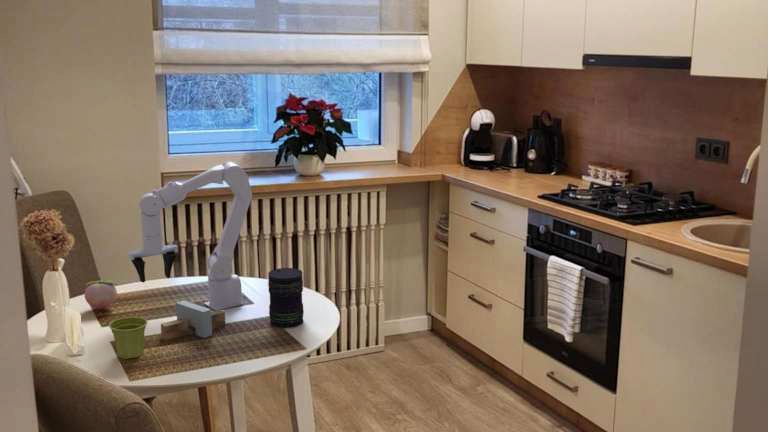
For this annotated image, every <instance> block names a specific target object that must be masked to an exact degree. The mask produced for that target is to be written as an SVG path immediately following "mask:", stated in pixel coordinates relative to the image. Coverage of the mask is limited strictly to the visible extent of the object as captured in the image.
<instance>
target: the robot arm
mask: <svg viewBox="0 0 768 432" xmlns="http://www.w3.org/2000/svg"><path fill="white" fill-rule="evenodd" d="M224 182H225V183H226V184H227V185H228V187H229V188H230V189H231V191H232V194H233V195H234V197H233V199H232V203H231V206H230V209H229V212H228V215H227V216H226V217H227V218H226V220H225V223H224V226H223V228H222V232H221V234H220V237H219V241H218V242H217V243H218V244H217V245H216V246H215V247H214V250H213V251H212V253H211V254H210V255H209V257H208V258H207V261H206V263H207V265H206V266H207V267H208V269H209V270H210V273H209V274H208V276H207V282H208V283H207V284H208V286H207V287H208V299H209V300H208V301H206V302H203V305H205V306H207V307H208V308H209V309H211V310H214V311H217V310H225V309H229V308H234V307H236V306H237V307H238V306H241V305H243V304H244V302H243V296H242V295H243V294H242V293H243V292H242V281H241V278H240V277H239V275H238V274H233V265H232V264H233V260H234V250H235V248H236V245H237V242H238V239H239V236H240V234H241V229H242V228H243V225H244V222H245V219H246V216H247V213H248V209H249V207H250V204H251V202H252V198H253V192H252V189H251V188H252V187H251V183H250V179H249V176H248V174H247V173H246V171H245V170H244V169H243V168H242V167H241V166H240V165H238V163H236V161H235V162H234V161H226V162H224V163H223V164H218V165H215V166H213V167H212V168H209V169H207V170H205V171H203V172H201V173H200V174H199V173H198V174H197V175H196V176H193V177H192V178H189V179H188V180H186V181H184V182H179V181H174V182H172V181H169V182H167V183H166V184H167V185H165V186H163V187H161V188H158V189H154V188H153V190H151V192H148V193H145V194H143V195H141V197H140V199H139V202H138V205H139V206H138V207H139V208H140V210H141V211H140V218H141V219H140V226H141V227H140V229H141V238H142V239H141V241H142V248H140V249H135V250H133V251H130V252H127V259H128V260H129V261H131V262H132V264H133V266H134V268H135V270H136V272H137V275H138V277H139V281H140V282H141V283H146V275H145V274H146V273H145V265H146V261H145V260H144V259H143V258H148V257H154V256H159V255H161V256H162V259H163V269H164V277H166V278H171V272H172V268H173V265H174V262H175V261H176V259H177V253H179V246H178V245H177V244H169V245H164V238H163V227H162V226H163V224H162V223H163V222H162V217H161V211H162V210H163V209H167V208H168V207H170V206H171V207H172V206H173V205H175V204H177V203H179V202H181V201H183V200H185V199H186V196H187V194H188V193H191V192H193V191H197V190H198V189H200V188H203V187H205V186H209V185H210V184H216V185H217V184H218V185H224Z"/></svg>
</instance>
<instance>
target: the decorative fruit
mask: <svg viewBox="0 0 768 432" xmlns="http://www.w3.org/2000/svg"><path fill="white" fill-rule="evenodd" d="M116 286H117V283H116V282H114V281H113V280H110V279H104V280H101V277H99V278H98V280H91V281H89V282H87V283H86V284H85V285H84V286H83V288H85V291H84V299H85V301H86V303H87V304H88V305H90V307H93V308H96V309H98V310H105V309H106V308H108V307H110V306H111V305H112V304H113V303H115V301H116V299H117V297H118V291H117V287H116Z"/></svg>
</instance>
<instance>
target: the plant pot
mask: <svg viewBox="0 0 768 432" xmlns="http://www.w3.org/2000/svg"><path fill="white" fill-rule="evenodd" d="M147 325H148V320H147V319H146V318H144V317H141V316H125V317H121V318H118V319H117V318H116V319H114V320H113V321H110V323H109V324H108V327H109V329H110V331H111V333H112V334H113V339H114V344H115V348H116V352H117V357H119V359H123V360H129V359H132V358H133V359H136V358H138V357H141V356H142V355H143V352H144V341H145V332H146V331H145V330H146V329H147V327H146V326H147Z"/></svg>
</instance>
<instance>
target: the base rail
mask: <svg viewBox="0 0 768 432" xmlns="http://www.w3.org/2000/svg"><path fill="white" fill-rule="evenodd" d="M211 320H212V330H213V329H216V328H217V329H218V328H220V327H224V326H226V312H225V311H223V309H221V310H214V311H211ZM192 334H196V328H194V327H192V326H188V320H186V319H185V318H183V319H179V320H177V319H175V320H172V321H171V320H170V321H166V322H163V323H160V335H161V338H162V339H163V340H164V341H168V340H169V341H170V340H172V339H176V338H181V337H183V336H188V335H192Z"/></svg>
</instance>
